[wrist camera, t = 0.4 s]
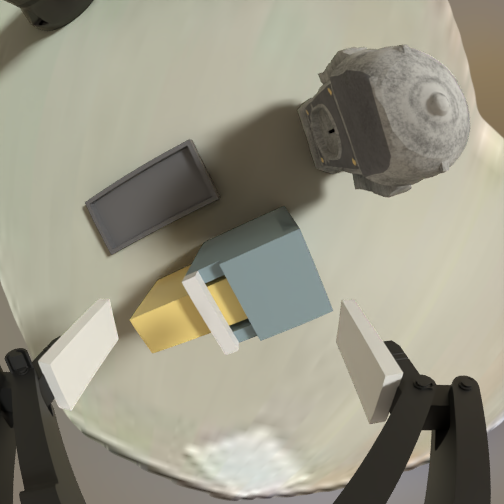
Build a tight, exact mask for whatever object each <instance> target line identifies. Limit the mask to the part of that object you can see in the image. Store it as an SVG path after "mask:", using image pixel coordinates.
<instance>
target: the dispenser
mask: <svg viewBox="0 0 504 504" xmlns="http://www.w3.org/2000/svg"><path fill="white" fill-rule="evenodd" d="M223 275H225V277H226V278H227V280H228V282H229V284H230V286H231V288H232V290H233V292H234V293H235V295H236V297H237V299H238V301H239V303H240V304H241V306H242V308H243V310H244V312H245V314H246V316H247V317H248V318H247V319H245V320H242V321H240V322H237V323H235V324H232V325H228V323H227V321H226V320H225V318H224V316H223V314H222V313H221V311H220V309H219V307H218V306H217V304H216V302H215V300H214V299H213V297H212V295H211V293H210V292H209V290H208V288H207V286H206V284H205V283H207V282H209V281H212V280H214V279H216V278H218V277H221V276H223ZM182 284H183V286H184V287H185V289H186V291H187V293H188V294H189V296H190V298H191V299H192V301H193V303H194V305H195V306H196V308H197V310H198V311H199V313H200V315H201V316H202V318H203V320H204V321H205V323H206V324H207V326H208V328H209V329H210V331H211V333H212V334H213V336H214V337H215V339H216V341H217V342H218V344H219V345H220V347H221V348H222V350H223V352H224V353H225V355H227V354H230V353H233V352H236V351H239V342H242V341H245V340H247V339H250V338H253V337H255V336H258V337H259V339H260V341H261V340H264V339H266V338H269V337H272V336H274V335H277V334H279V333H282V332H284V331H287V330H289V329H292V328H294V327H297V326H299V325H301V324H304V323H306V322H309V321H311V320H313V319H316V318H318V317H320V316H323V315H325V314H327V313H329V312H332V311H333V309H332V307H331V304H330V301H329V299H328V296H327V294H326V291H325V289H324V286H323V284H322V281H321V279H320V276H319V274H318V271H317V269H316V266H315V264H314V261H313V259H312V257H311V254H310V252H309V249H308V247H307V245H306V242H305V240H304V237H303V235H302V233H301V230H300V228H299V227H298V225H297V224H296V222H295V221H294V219H293V218H292V217H291V215H290V214H289V212H288V211H287V209H286V208H285V206H283V207H280V208H278V209H276V210H274V211H271V212H269V213H267V214H265V215H263V216H260V217H258V218H256V219H254V220H252V221H249V222H247V223H245V224H243V225H241V226H238V227H236V228H234V229H232V230H230V231H228V232H225V233H223V234H221V235H219V236H217V237H215V238H212V239H210V240H208V241H206V242H204V243H203V245H202V247H201V248H200V250H199V252H198V254H197V255H196V257H195V259H194V261H193V262H192V264H191V266H190V268H189V270H188V271H187V273H186V275H185V277H184V279H183V280H182Z"/></svg>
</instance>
